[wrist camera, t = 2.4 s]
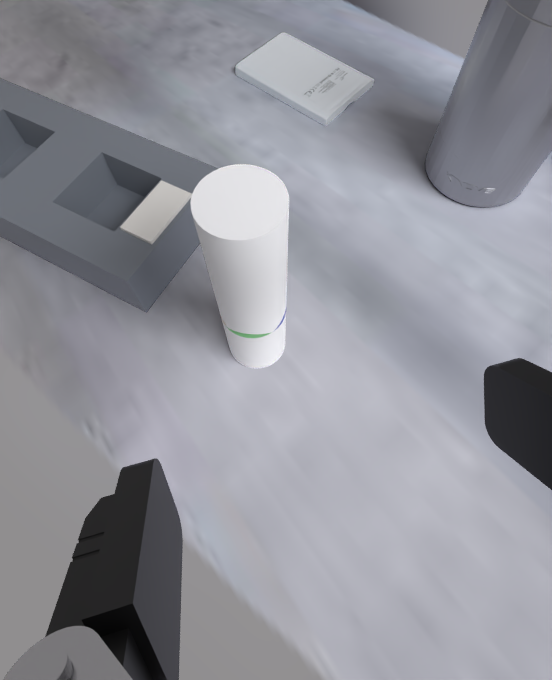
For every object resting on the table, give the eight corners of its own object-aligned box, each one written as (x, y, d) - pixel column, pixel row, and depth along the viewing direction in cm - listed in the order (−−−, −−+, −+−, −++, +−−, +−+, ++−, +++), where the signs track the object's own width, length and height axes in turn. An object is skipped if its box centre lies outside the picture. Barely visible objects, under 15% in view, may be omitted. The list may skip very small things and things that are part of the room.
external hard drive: (284, 45, 48) (372, 91, 44) (235, 80, 45) (324, 131, 42) (284, 29, 46) (375, 76, 43) (234, 65, 44) (326, 117, 40)
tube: (218, 337, 32) (172, 193, 18) (263, 307, 33) (251, 150, 19) (250, 379, 30) (225, 257, 17) (296, 347, 31) (309, 207, 18)
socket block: (-67, 201, 38) (-112, 158, 33) (26, 121, 42) (-4, 74, 38) (146, 312, 33) (125, 279, 28) (226, 208, 37) (219, 166, 33)
